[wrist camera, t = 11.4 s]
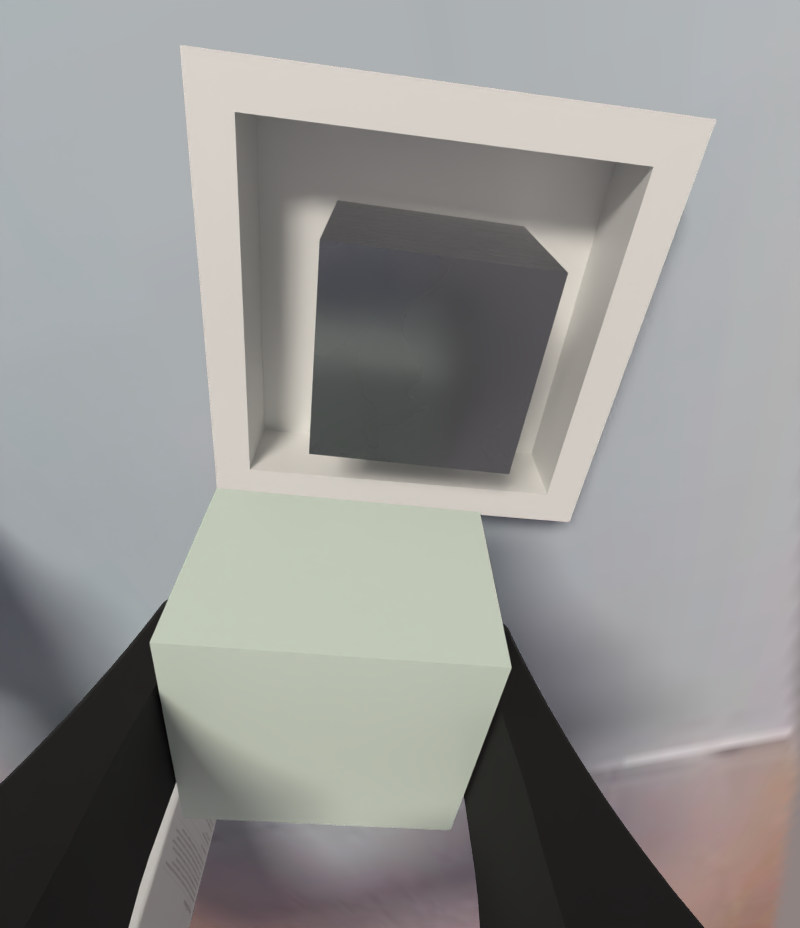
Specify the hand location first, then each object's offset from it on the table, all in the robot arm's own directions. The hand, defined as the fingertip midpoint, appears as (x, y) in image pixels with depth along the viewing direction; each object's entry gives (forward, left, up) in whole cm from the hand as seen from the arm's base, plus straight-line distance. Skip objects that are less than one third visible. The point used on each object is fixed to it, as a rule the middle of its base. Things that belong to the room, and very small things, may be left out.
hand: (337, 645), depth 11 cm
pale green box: (0, 0, -1) cm, 1 cm away
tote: (+4, -1, -10) cm, 10 cm away
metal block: (+4, -1, -9) cm, 10 cm away
